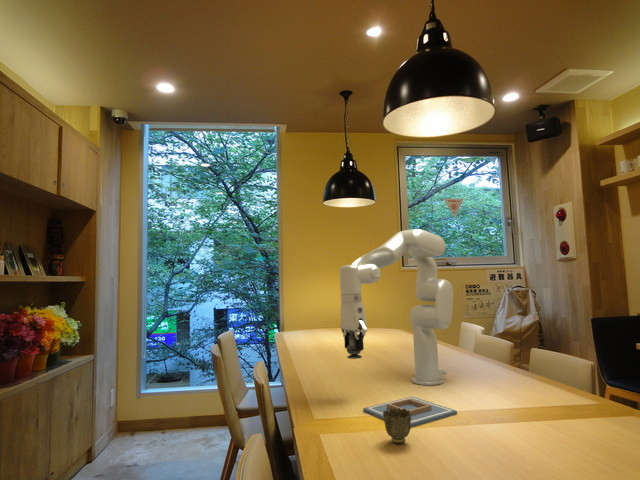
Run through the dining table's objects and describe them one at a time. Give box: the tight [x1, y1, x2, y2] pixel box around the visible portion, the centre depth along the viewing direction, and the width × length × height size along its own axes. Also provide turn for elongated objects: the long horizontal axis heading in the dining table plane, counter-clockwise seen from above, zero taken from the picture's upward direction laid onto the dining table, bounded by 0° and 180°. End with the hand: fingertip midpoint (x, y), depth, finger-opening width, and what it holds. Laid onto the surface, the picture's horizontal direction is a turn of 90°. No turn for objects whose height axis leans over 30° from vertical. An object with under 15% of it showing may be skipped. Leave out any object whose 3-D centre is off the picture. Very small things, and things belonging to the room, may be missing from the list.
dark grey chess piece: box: [345, 331, 363, 360], centre depth 148 cm, size 6×6×12 cm
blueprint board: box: [362, 395, 458, 429], centre depth 132 cm, size 22×20×2 cm
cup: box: [383, 408, 411, 446], centre depth 109 cm, size 8×7×8 cm
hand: (354, 348), depth 148 cm, fingers closed on dark grey chess piece, 5 cm apart
